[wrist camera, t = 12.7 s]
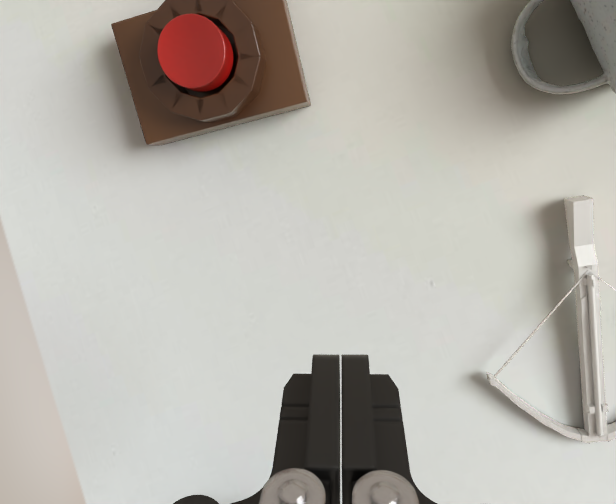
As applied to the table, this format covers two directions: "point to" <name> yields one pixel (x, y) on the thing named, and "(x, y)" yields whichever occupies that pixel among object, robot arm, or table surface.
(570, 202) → the crossbow
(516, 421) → the table surface
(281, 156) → the table surface
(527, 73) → the ceramic mug
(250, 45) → the button block
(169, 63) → the button
